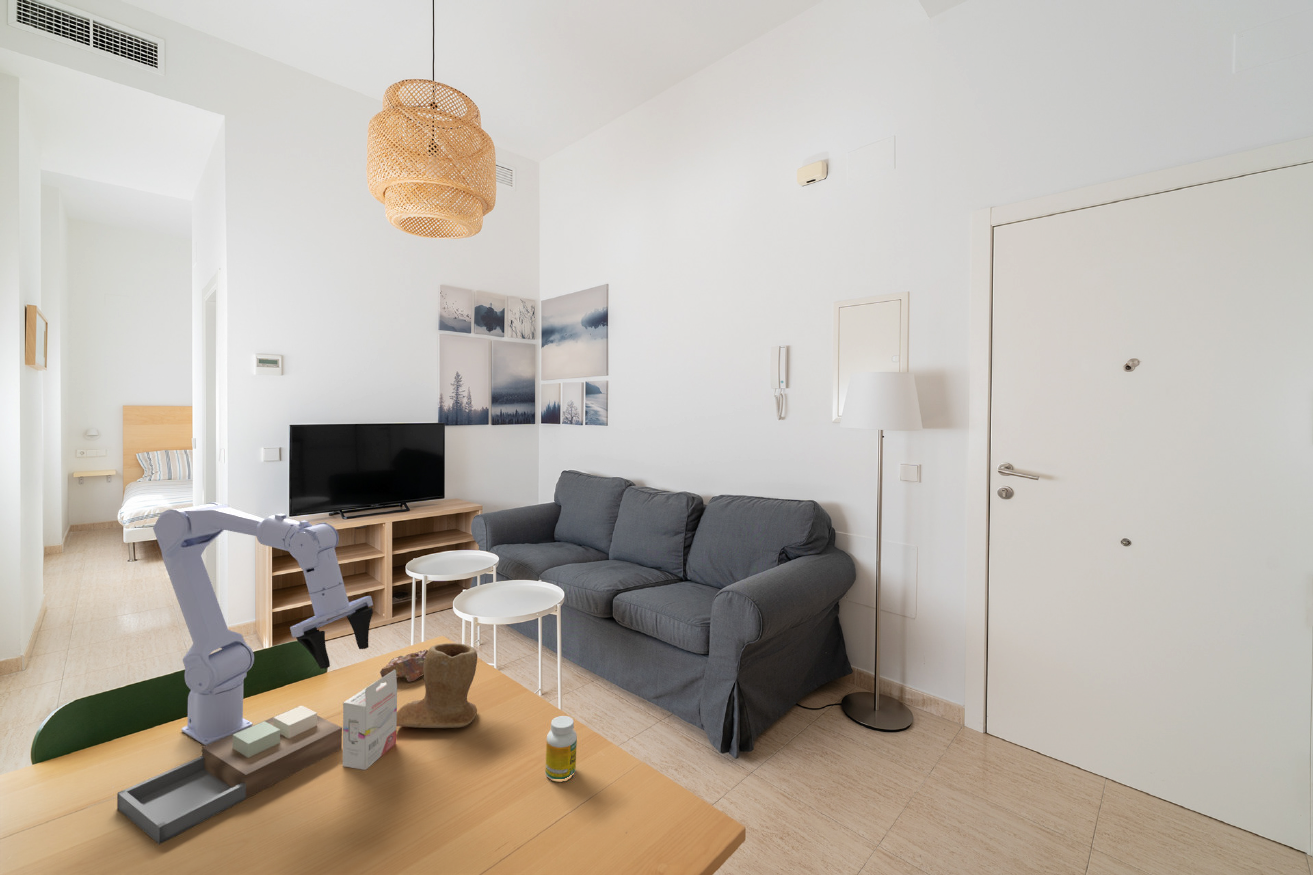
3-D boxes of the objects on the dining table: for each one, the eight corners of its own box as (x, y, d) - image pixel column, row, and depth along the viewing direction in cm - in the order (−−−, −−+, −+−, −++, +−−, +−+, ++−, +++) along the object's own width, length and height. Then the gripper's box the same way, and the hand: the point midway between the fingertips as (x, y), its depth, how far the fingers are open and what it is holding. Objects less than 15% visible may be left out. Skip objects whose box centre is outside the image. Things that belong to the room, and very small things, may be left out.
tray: (117, 808, 86) (117, 792, 86) (201, 769, 95) (202, 755, 95) (159, 844, 79) (159, 827, 79) (245, 798, 89) (245, 783, 89)
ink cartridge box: (374, 739, 106) (376, 664, 106) (396, 743, 105) (399, 668, 105) (340, 766, 98) (342, 685, 97) (364, 771, 97) (366, 689, 96)
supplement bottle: (547, 763, 101) (549, 712, 101) (577, 764, 102) (579, 713, 101) (542, 783, 96) (544, 729, 96) (573, 783, 96) (575, 730, 96)
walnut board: (201, 769, 95) (202, 747, 95) (297, 726, 110) (298, 706, 109) (245, 798, 89) (245, 774, 89) (341, 748, 103) (342, 727, 103)
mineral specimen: (410, 684, 125) (397, 657, 126) (386, 696, 127) (373, 669, 127) (443, 662, 137) (431, 637, 137) (420, 673, 138) (409, 648, 139)
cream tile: (273, 730, 101) (273, 717, 101) (301, 717, 106) (301, 705, 106) (288, 738, 99) (289, 725, 99) (316, 725, 103) (317, 712, 103)
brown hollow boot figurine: (484, 704, 121) (486, 637, 120) (467, 736, 109) (470, 661, 108) (413, 703, 120) (416, 635, 120) (389, 734, 108) (391, 659, 108)
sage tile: (232, 748, 95) (232, 734, 95) (264, 734, 100) (264, 721, 100) (248, 757, 93) (248, 743, 93) (279, 742, 98) (280, 729, 97)
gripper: (298, 600, 95) (318, 676, 95) (374, 572, 108) (392, 639, 108) (277, 604, 99) (296, 677, 99) (353, 576, 112) (370, 641, 112)
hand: (345, 657), depth 104 cm, fingers open, 7 cm apart
